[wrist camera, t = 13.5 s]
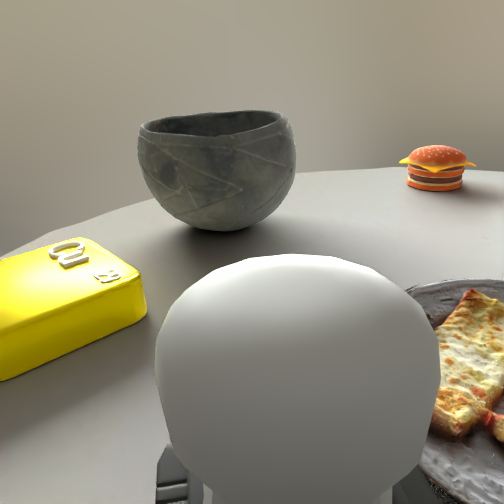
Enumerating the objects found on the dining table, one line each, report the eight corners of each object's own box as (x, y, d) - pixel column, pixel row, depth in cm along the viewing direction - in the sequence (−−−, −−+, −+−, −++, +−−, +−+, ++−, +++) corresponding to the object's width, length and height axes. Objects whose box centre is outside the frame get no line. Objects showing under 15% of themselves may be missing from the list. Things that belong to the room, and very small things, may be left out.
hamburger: (475, 186, 75) (481, 147, 72) (432, 195, 71) (437, 154, 69) (433, 174, 83) (438, 138, 80) (393, 182, 79) (396, 145, 76)
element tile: (-54, 317, 43) (-71, 274, 41) (91, 267, 52) (83, 230, 50) (-18, 393, 33) (-39, 341, 31) (156, 315, 42) (148, 270, 40)
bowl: (133, 218, 68) (116, 118, 61) (252, 194, 76) (248, 104, 70) (179, 269, 51) (162, 138, 44) (326, 230, 60) (329, 116, 53)
